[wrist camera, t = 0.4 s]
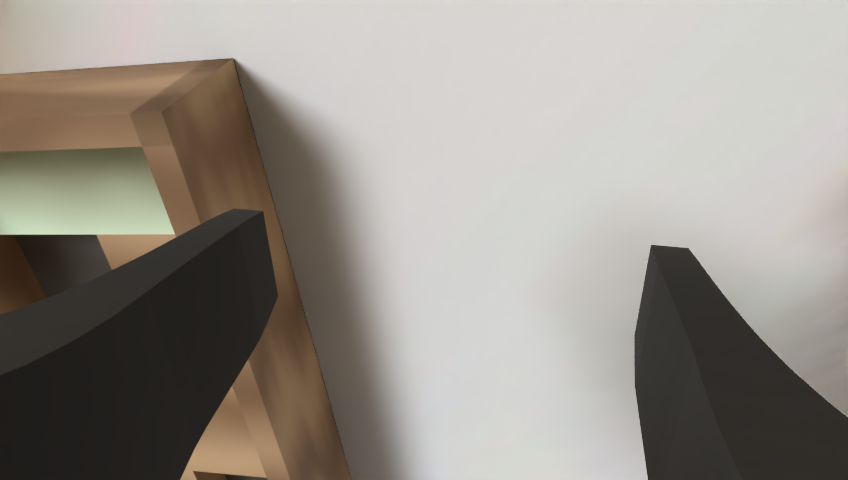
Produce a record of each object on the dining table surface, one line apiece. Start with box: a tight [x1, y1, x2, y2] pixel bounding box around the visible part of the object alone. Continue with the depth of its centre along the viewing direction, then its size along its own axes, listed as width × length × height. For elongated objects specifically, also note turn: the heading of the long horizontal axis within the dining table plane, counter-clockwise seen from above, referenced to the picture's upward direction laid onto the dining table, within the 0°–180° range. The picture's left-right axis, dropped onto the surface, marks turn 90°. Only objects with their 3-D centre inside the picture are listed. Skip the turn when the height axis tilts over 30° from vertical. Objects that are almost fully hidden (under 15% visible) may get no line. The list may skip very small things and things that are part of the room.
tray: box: [0, 58, 351, 480], centre depth 31 cm, size 33×13×4 cm, turn 7°
